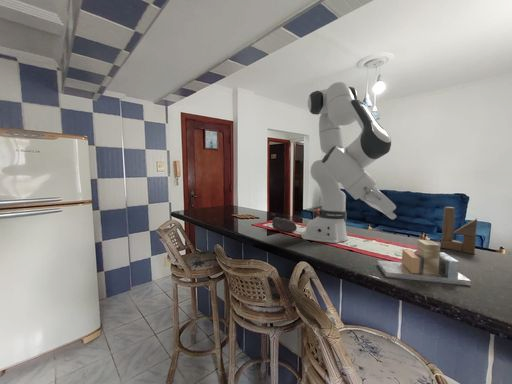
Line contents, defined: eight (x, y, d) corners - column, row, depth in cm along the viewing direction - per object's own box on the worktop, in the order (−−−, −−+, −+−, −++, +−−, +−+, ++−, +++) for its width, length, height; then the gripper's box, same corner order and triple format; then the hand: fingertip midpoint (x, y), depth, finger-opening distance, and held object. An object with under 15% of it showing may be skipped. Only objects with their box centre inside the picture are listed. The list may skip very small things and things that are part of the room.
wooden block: (474, 254, 92) (477, 210, 90) (440, 248, 99) (443, 207, 98) (474, 252, 94) (478, 209, 93) (441, 246, 102) (444, 206, 100)
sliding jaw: (411, 272, 70) (412, 257, 70) (401, 262, 78) (402, 249, 77) (420, 273, 69) (422, 258, 69) (410, 263, 77) (411, 249, 77)
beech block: (423, 272, 71) (425, 244, 70) (416, 266, 75) (418, 239, 75) (438, 274, 70) (440, 245, 69) (430, 267, 74) (432, 240, 74)
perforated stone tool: (298, 232, 125) (299, 219, 124) (293, 234, 121) (294, 221, 120) (276, 227, 135) (276, 216, 134) (271, 229, 131) (271, 217, 130)
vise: (386, 276, 71) (387, 256, 71) (377, 264, 81) (378, 246, 80) (470, 285, 66) (472, 263, 65) (450, 271, 75) (452, 252, 75)
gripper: (378, 181, 65) (415, 216, 63) (363, 179, 84) (391, 206, 83) (360, 196, 66) (396, 231, 64) (349, 191, 86) (377, 218, 84)
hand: (393, 217), depth 74 cm, fingers closed
